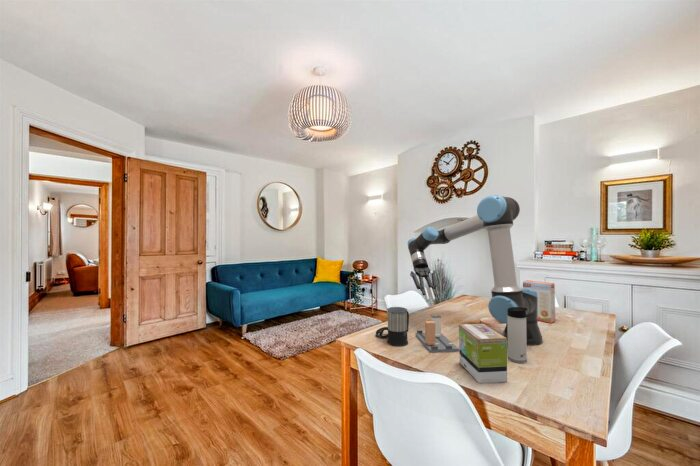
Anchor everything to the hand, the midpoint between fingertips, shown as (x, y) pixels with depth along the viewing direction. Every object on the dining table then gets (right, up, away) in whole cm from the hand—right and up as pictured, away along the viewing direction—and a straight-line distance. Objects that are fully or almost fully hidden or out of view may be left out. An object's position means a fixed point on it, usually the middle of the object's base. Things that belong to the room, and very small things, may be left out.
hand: (430, 300), depth 140 cm
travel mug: (+25, -16, -29) cm, 41 cm away
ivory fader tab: (+1, -15, -7) cm, 16 cm away
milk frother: (-20, -17, -7) cm, 27 cm away
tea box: (+7, -16, -38) cm, 42 cm away
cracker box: (+66, -16, +22) cm, 71 cm away
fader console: (-1, -16, -11) cm, 20 cm away
